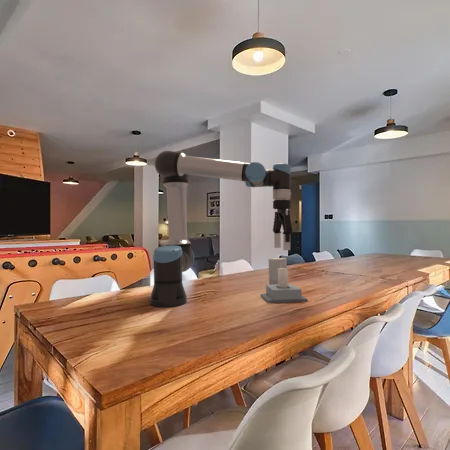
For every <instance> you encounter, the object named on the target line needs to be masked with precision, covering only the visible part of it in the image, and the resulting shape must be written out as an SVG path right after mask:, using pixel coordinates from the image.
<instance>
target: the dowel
mask: <svg viewBox="0 0 450 450" xmlns="http://www.w3.org/2000/svg"><path fill="white" fill-rule="evenodd" d="M288 276H289V275H288V267H287V268H278V288H279V289H280V288H288V284H289V282H288V279H289V278H288Z"/></svg>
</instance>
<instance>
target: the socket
mask: <svg viewBox="0 0 450 450" xmlns="http://www.w3.org/2000/svg"><path fill="white" fill-rule="evenodd" d="M260 297H261V299H263V300H264V301H265V302H266V303H267V304H276V303H277V304H279V303H298V302H299V303H301V302H303V303H304V302H308V298H307V297H305V296H303V295H302V289H301V288H300V287H298V286H296V285H295V284H292V283H288V288H280V289H279V288H278V285H269V284H265V293H260Z"/></svg>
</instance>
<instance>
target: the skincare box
mask: <svg viewBox="0 0 450 450" xmlns="http://www.w3.org/2000/svg"><path fill="white" fill-rule="evenodd" d="M287 261H288V259H287V258H286V257H274V258H273V257H272V258H268V285H278V268H287V269H288V265H287V264H288V263H287Z"/></svg>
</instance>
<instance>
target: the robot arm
mask: <svg viewBox="0 0 450 450" xmlns="http://www.w3.org/2000/svg"><path fill="white" fill-rule="evenodd" d="M154 168H155V170H156V173H157V174H158V175H159V176H161V177H162V185H163V187H165V188H166V202H167V203H166V206H167V226H168V227H167V228H168V230H167V232H168V241H167V242H166V243H165V245H163V246H158V247H156V248H155V249H154V250H153V255H152V258H153V286H152V291H151V293H150V298H149V305H151V306H153V307H156V308H157V307H159V308H160V307H161V308H169V307H171V308H172V307H177V306H182V305H184V304H186V303H187V301H188V299H187V294H186V291H185V288H184V285H183V273H184V272H187V271H189V269H190V268H191V267H192V266H193V264H194V261H195V253H194V251H193V250H192V243H191V241H190V240H189V239H188V224H187V223H188V222H187V219H188V218H187V199H186V188H187V187H188V186H189V178H190V176H198V177H206V178H213V179H222V180H223V179H224V180H231V181H238V182H239V181H240V182H244V183H245V186H246V187H247V188H262V187H263V188H264V187H272V199H273V201H272V208H273V210H277V211H274V219H273V227H272V232H273V234H274V235H273V236H274V237H273V238H274V239H273V240H274V242H273V243H274V245H273V246H274V249H277V248H278V249H279V248H281V244H282V243H281V239H282V238H283V244H282V245H283V247H282V248H283V251H291V234H292V233H293V227H292V221H291V211H290V209H292V208H291V206H292V205H291V203H292V202H291V196H292V192H291V188H292V187H291V185H292V184H291V175H292V174H291V173H292V172H291V166H290V165H289V164H288V163H286V162H285V163H283V162H280V163H279V162H278V163H274V164H273V165H272V168H269V169H266V168H265V166H264V165H263V164H262V163H260V162H258V161H253V162H243V161H237V160H236V161H235V160H228V159H227V160H226V159H218V158H217V159H216V158H209V157H200V156H192V155H186V153H184V152H178V151H173V150H164V151H162V152H160V153H159V154H157V156H156V158H155V160H154ZM281 229H282V230H283V231H281ZM281 234H282V236H283V237H282V238H281Z"/></svg>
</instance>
